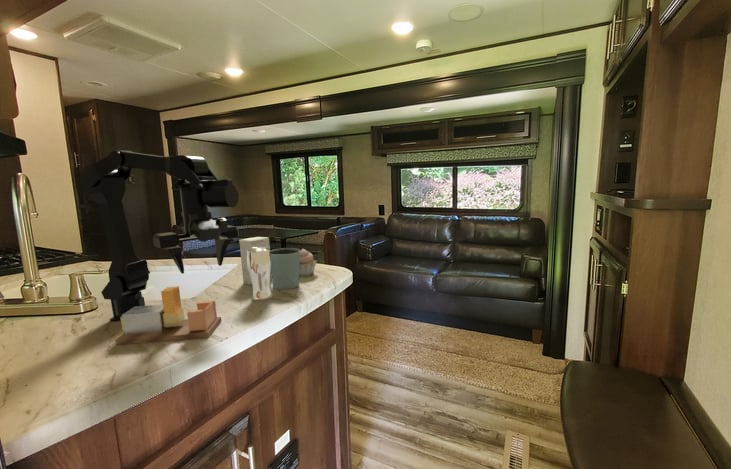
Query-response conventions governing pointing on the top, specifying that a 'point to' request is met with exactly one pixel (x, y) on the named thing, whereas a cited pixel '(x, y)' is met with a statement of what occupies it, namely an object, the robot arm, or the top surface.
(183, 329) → the walnut board
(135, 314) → the steel sleeve
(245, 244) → the skincare box
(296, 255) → the teal mug
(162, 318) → the wooden blocks
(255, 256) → the beer glass
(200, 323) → the terracotta socket
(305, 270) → the cupcake
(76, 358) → the top surface
